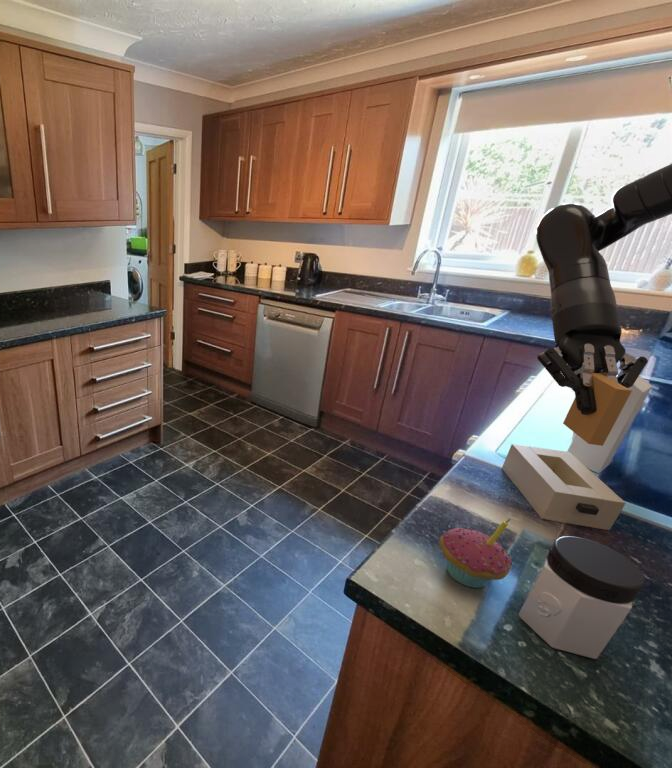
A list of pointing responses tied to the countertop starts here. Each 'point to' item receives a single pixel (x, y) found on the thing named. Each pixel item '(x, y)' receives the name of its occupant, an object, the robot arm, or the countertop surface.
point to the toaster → (562, 487)
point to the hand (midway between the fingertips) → (598, 414)
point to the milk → (602, 455)
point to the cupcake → (475, 556)
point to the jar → (581, 595)
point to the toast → (599, 411)
